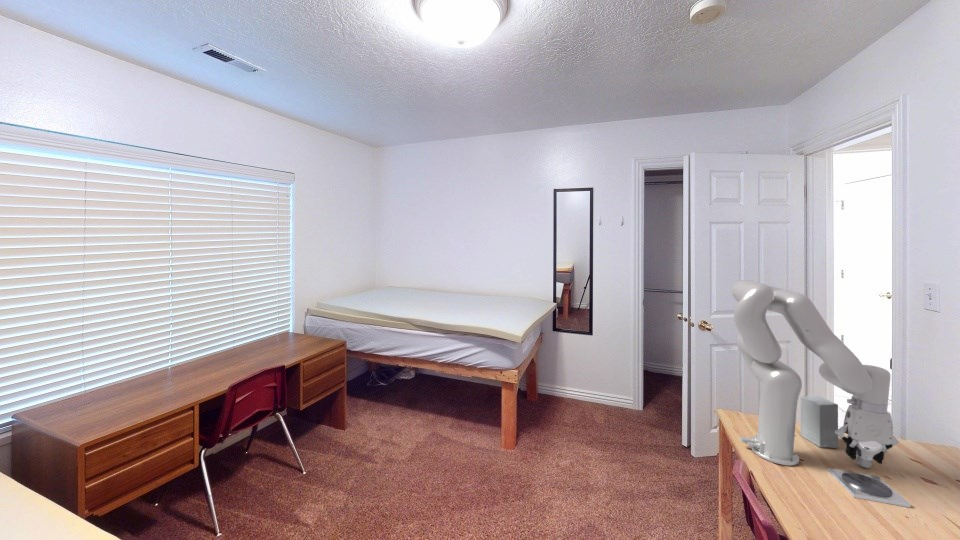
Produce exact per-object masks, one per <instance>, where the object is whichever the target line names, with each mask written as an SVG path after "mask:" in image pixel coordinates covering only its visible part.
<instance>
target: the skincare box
mask: <svg viewBox="0 0 960 540" xmlns="http://www.w3.org/2000/svg"><path fill="white" fill-rule="evenodd" d="M838 429H839V404H838V403H835V402H833V401H832V400H828V399H827V398H824V397H821V396H820V395H800V436H801V437H802V438H804V439H806V440H807V441H809V442H810V443H812V444H813V445H815V446H817V447H818V448H834V449H838V447H839V436H838V435H837V434H836V433H835V431H836V430H838Z"/></svg>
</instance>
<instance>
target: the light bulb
mask: <svg viewBox="0 0 960 540" xmlns="http://www.w3.org/2000/svg"><path fill="white" fill-rule="evenodd" d="M851 440H852V438H851ZM855 448H857V454H856V460H855V461H856V463H857V464H858V465H859V466H860V468H862V469H868V468H871V467H872V464H873V461H874V457H875V456H876V455H877V454H879V453H880V452H881V451H882V449H883V445H882V444H879V443H878V442H876V441H868V442H861V441H857V442H856V445H855Z"/></svg>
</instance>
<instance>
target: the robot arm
mask: <svg viewBox="0 0 960 540" xmlns="http://www.w3.org/2000/svg"><path fill="white" fill-rule="evenodd" d="M731 296H732V297H733V298H734V299H735V300H736V301H737V304H736V307H735V309H734V312H733V321H734V323H735V326H736V328H737V331H738V335H737V337H736V346H737V348H738V351H739V352H740V354H741V356H742V358H743V360H744V362H745V364H746V366H747V367H748V369H749V371H750V372H751V374H752V375H753V377H755V378H756V379H757V380H758V381H759V382H760V383H761V384H763V388H762V391H761V393H760V397H759V402H758V403H759V404H758V407H759V408H758V422H757V434H754V435H753V437H752V436H751V437H745V436H740V437H739V441H740V443H744V444H747V446H748V447H750V448H751V450H752V452H753V453H754V454H755V455H757V457H758V456H759V457H760V458H762V459H764V460H766V461H767V462H768V461H769V462H770V463H775V464H777V465H781V466H782V465H783V466H796V465H798V464H799V463H800V457H799V455H798V454H797V453H796V452H794V450H795V449H794V448H795V437H796V435H795V434H796V425H797V409H798V402H799V398H800V396H801V395H800V394H801V391H802V387H803V381H802V378H801V376H800V375H799V374H798V373H797V371H796V370H795V369H793V368H792V367H791V366H789V365H787V364H786V363H784V362H782V361H780V359H781V358H782V352H783V351H782V348H781V345H780V344H779V342H778V340H777V338H776V337H775V335H774V333H773V331H772V329H771V328H770V326H769V322H768V321H767V317H766V315H767V312H768V311H770V312H774V313H778V314H780V315H782V316H783V317H784V319H785V321H786V322H787V323H788V324H789V326H790V328H791V329H792V331H793V333H794V334H795V335H796V337H797V339H798V340H799V342H800V343H802V345H803V346H804V347H806V348H807V349H808V350H809V351H811V352H812V353H813V354H814V355H816V356H817V357H818V358H819V359H820V360H822V362H823V363H821V364H820V365H819V368H818V373H819V374H820V376H821V377H822V379H824V380H825V381H826V382H827V383H830V384H832V385H834V386H835V387H837V388H839V389H841V390H842V391H843V392H845V393H848V394H850V395H852V396H851V398H848V399H846V403H848V404H849V405H848V407H847V409H846V412H845V415H844V420H843V425H842V426H841V427H838V430H836V431H835V433H836V434H837V435H838V438H840V439H841V440H842V441H843V442H844V443H845V444H846V448H845V454H846V455H847V456H848V457H849V458H850V459H852V460H854V461H857V455H856V454H857V448H855V445H856V442H857V441H861V442H868V441H876V442H878V443H879V444H882V445H883V449H882V451H881V452H880V453H879V454H877V455H876V456H875V457H874V459H873V461H875V462H876V463H878V464H880V465H883V461H884V458H885V456H884V455H885V453H887V452H888V450H889V449H891V448H893V446H896V445H899V444H900V441H899V440H898V439H897V438H896V437H895V436H894V426H893V425H894V423H893V419H892V414H891V413H890V412H888V405H889V395H890V385H891V373H890V372H889V371H888V370H887V369H886V368H883V367H880V366H876V365H870V364H863V363H862V362H861V361H860V359H859V358H858V357H857V356H856V355H855V354H854V352H853V351H852V350H851V349H850V348H848V346H847V345H846V344H845V343H844V342H843V341H842V340H841V339H840V338H839V337H838V336H837V335H836V334H835V333H834V332H833V331H832V330H831V328H830V327H829V325H828V324H827V322H826V321H825V319H824V318H823V316H822V315H821V314H820V312H819V310H818V308H817V307H816V305H815V304H814V303H813V302H812V300H811V299H810V298H809V297H808V296H807V295H805V294H803V293H800V292H798V291H797V292H796V291H792V290H789V289H784V288H778V287H775V286H770V285H767V284H765V283H762V282H758V281H754V280H748V279H744V280H739V281H737V282H735V283H734V284H733V286H732V287H731ZM846 435H847V436H846ZM851 438H852V440H851Z"/></svg>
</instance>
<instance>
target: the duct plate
mask: <svg viewBox="0 0 960 540" xmlns="http://www.w3.org/2000/svg"><path fill="white" fill-rule="evenodd" d="M827 472H828V473H829V474H830V475H831V476H832V478H834V479H835V480H836V481H837V483H839V484H840V485H841V486H842V487H843V488H844V489H845V490H846V491H847V492H848V493H849V494H850V495H851V496H852V497H853V498H855V499H861V500H867V501H873V502H879V503H882V504H883V503H884V504H887V505H889V504H890V505H894V506H900V507H904V508H911V505H912V504H911V503H910V502H909V501H907V500H906V498H905V497H904V496H902V495H900V494H899V493H898V492H897V491H896V490H895V489H894V488H892V487H891V486H890V485H889V484H888V483H886V482H885V481H884V480H883V479H881V477H879V476H878V475H872V474H866V473H860V472H853V471H848V470H842V469H836V468H830V467H827Z"/></svg>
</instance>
